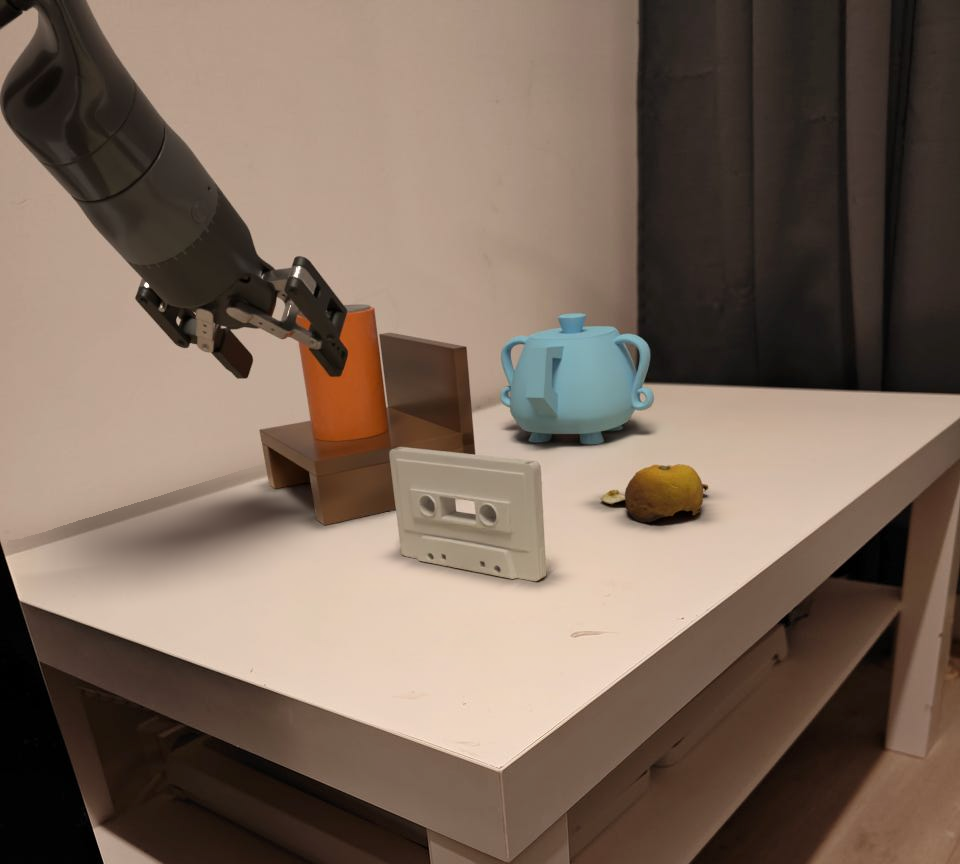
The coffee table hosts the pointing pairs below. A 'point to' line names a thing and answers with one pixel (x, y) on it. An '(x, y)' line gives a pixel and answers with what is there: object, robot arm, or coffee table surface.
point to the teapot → (575, 380)
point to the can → (347, 383)
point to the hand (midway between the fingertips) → (292, 368)
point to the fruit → (661, 492)
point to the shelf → (366, 462)
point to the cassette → (463, 536)
